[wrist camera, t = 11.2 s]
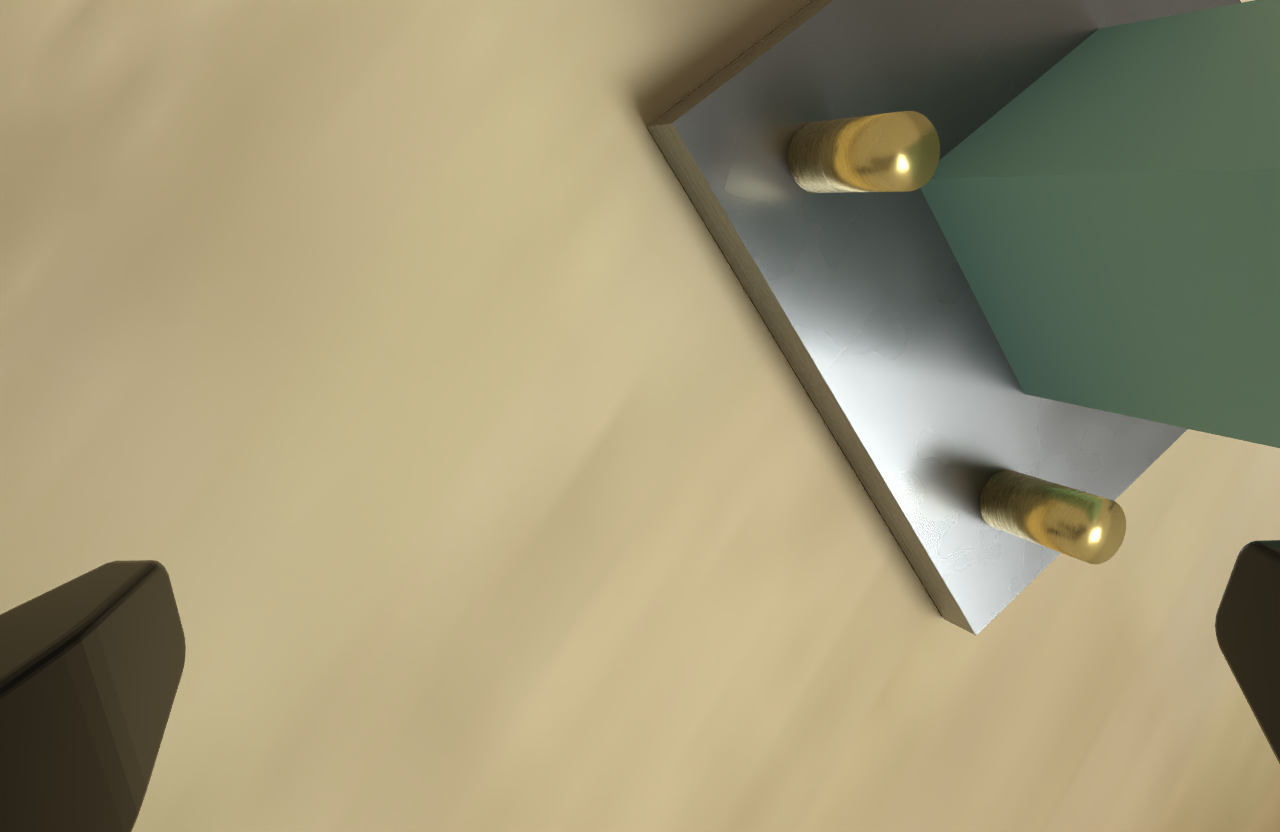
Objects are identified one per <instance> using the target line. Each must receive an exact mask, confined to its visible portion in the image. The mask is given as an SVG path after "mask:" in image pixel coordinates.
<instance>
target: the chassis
mask: <svg viewBox="0 0 1280 832" xmlns="http://www.w3.org/2000/svg"><path fill="white" fill-rule="evenodd" d="M1238 3H1241V1H1240V0H814V1H812V2H811V3H810V4H808V5H807V6H806V7H804V8H803V9H802V10H800V11H799V12H798V13H797V14H795V15H794V16H793V17H791V18H790V19H789V20H787V21H786V22H785V23H783V24H782V25H781V26H779V27H778V28H777V29H775V30H774V31H773V32H771V33H770V34H769V35H767V36H766V37H765V38H764V39H762V40H761V41H760V42H758V43H757V44H756V45H754V46H753V47H752V48H750V49H749V50H748V51H746V52H745V53H744V54H742V55H741V56H740V57H738V58H737V59H736V60H735V61H733V62H732V63H731V64H729V65H728V66H727V67H725V68H724V69H723V70H721V71H720V72H719V73H717V74H716V75H715V76H713V77H712V78H711V79H709V80H708V81H707V82H705V83H704V84H703V85H702V86H700V87H699V88H698V89H696V90H695V91H694V92H692V93H691V94H690V95H688V96H687V97H686V98H684V99H683V100H682V101H680V102H679V103H678V104H676V105H675V106H674V107H672V108H671V109H670V110H669V111H667V112H666V113H665V114H663V115H662V116H661V117H659V118H658V119H657V120H655V121H654V122H653V123H651V124H650V125H649V126H647V128H648V130H649V131H650V133H651V135H652V136H653V138H654V140H655V141H656V143H657V145H658V146H659V148H660V149H661V151H662V153H663V154H664V156H665V158H666V159H667V161H668V163H669V164H670V166H671V168H672V169H673V171H674V173H675V174H676V176H677V178H678V179H679V181H680V183H681V184H682V186H683V188H684V189H685V191H686V193H687V194H688V196H689V197H690V199H691V201H692V202H693V204H694V206H695V207H696V209H697V211H698V212H699V214H700V216H701V217H702V219H703V221H704V222H705V224H706V226H707V227H708V229H709V231H710V232H711V234H712V236H713V237H714V239H715V241H716V242H717V244H718V245H719V247H720V249H721V250H722V252H723V254H724V255H725V257H726V259H727V260H728V262H729V264H730V265H731V267H732V269H733V270H734V272H735V274H736V275H737V277H738V279H739V280H740V282H741V284H742V285H743V287H744V289H745V290H746V292H747V294H748V295H749V297H750V298H751V300H752V302H753V303H754V305H755V307H756V308H757V310H758V312H759V313H760V315H761V317H762V318H763V320H764V322H765V323H766V325H767V327H768V328H769V330H770V332H771V333H772V335H773V337H774V338H775V340H776V342H777V343H778V345H779V346H780V348H781V350H782V351H783V353H784V355H785V356H786V358H787V360H788V361H789V363H790V365H791V366H792V368H793V370H794V371H795V373H796V375H797V376H798V378H799V380H800V381H801V383H802V385H803V386H804V388H805V390H806V391H807V393H808V394H809V396H810V398H811V399H812V401H813V403H814V404H815V406H816V408H817V409H818V411H819V413H820V414H821V416H822V418H823V419H824V421H825V423H826V424H827V426H828V428H829V429H830V431H831V433H832V434H833V436H834V438H835V439H836V441H837V442H838V444H839V446H840V447H841V449H842V451H843V452H844V454H845V456H846V457H847V459H848V461H849V462H850V464H851V466H852V467H853V469H854V471H855V472H856V474H857V476H858V477H859V479H860V481H861V482H862V484H863V486H864V487H865V489H866V490H867V492H868V494H869V495H870V497H871V499H872V500H873V502H874V504H875V505H876V507H877V509H878V510H879V512H880V514H881V515H882V517H883V519H884V520H885V522H886V524H887V525H888V527H889V529H890V530H891V532H892V534H893V535H894V537H895V538H896V540H897V542H898V543H899V545H900V547H901V548H902V550H903V552H904V553H905V555H906V557H907V558H908V560H909V562H910V563H911V565H912V567H913V568H914V570H915V572H916V573H917V575H918V577H919V578H920V580H921V582H922V583H923V585H924V587H925V588H926V590H927V591H928V593H929V595H930V596H931V598H932V600H933V601H934V603H935V605H936V606H937V608H938V610H939V611H940V613H941V615H942V616H943V618H944V619H945V620H947V621H949V622H951V623H953V624H955V625H957V626H959V627H961V628H963V629H965V630H967V631H969V632H971V633H973V634H975V635H977V634H978V633H979V632H980V631H981V630H982V629H983V628H984V627H986V626H987V625H988V624H989V623H990V622H991V621H992V620H993V619H994V618H995V617H996V616H997V615H998V614H999V613H1000V612H1001V611H1002V610H1003V609H1004V608H1005V607H1006V606H1007V605H1008V604H1009V603H1010V602H1011V601H1012V600H1013V599H1014V598H1015V597H1016V596H1017V595H1018V594H1019V593H1020V592H1021V591H1022V590H1023V589H1024V588H1025V587H1026V586H1027V585H1028V584H1030V583H1031V582H1032V581H1033V580H1034V579H1035V578H1036V577H1037V576H1038V575H1039V574H1040V573H1041V572H1042V571H1043V570H1044V569H1045V568H1046V567H1047V566H1048V565H1049V564H1050V563H1051V562H1052V561H1053V560H1054V559H1055V558H1056V557H1057V556H1058V555H1059V554H1060V553H1063V554H1066V555H1069V556H1071V557H1074V558H1077V559H1079V560H1082V561H1085V562H1087V563H1090V564H1100V563H1103V562H1105V561H1107V560H1109V559H1110V558H1111V557H1112V556H1113V555H1114V554H1115V553H1116V552H1117V551H1118V549H1119V547H1120V546H1121V544H1122V542H1123V539H1124V535H1125V530H1126V519H1125V515H1124V512H1123V510H1122V508H1121V507H1120V505H1119V504H1118V503H1116V502H1115V501H1114V500H1115V499H1117V498H1118V497H1119V496H1120V495H1121V494H1122V493H1123V492H1124V491H1125V490H1126V489H1127V488H1128V487H1129V486H1130V485H1131V484H1132V483H1133V482H1134V481H1135V480H1136V479H1137V478H1138V477H1139V476H1140V475H1141V474H1142V473H1143V472H1144V471H1145V470H1146V469H1147V468H1148V467H1149V466H1150V465H1151V464H1152V463H1153V462H1154V461H1155V460H1156V459H1157V458H1158V457H1159V456H1161V455H1162V454H1163V453H1164V452H1165V451H1166V450H1167V449H1168V448H1169V447H1170V446H1171V445H1172V444H1173V443H1174V442H1175V441H1176V440H1177V439H1178V438H1179V437H1180V436H1181V435H1182V434H1183V433H1184V432H1185V431H1186V430H1187V428H1182V427H1178V426H1173V425H1168V424H1164V423H1159V422H1154V421H1149V420H1145V419H1140V418H1135V417H1130V416H1126V415H1121V414H1116V413H1112V412H1107V411H1102V410H1097V409H1093V408H1088V407H1083V406H1078V405H1074V404H1069V403H1064V402H1060V401H1055V400H1050V399H1045V398H1041V397H1036V396H1031V395H1027V394H1024V392H1023V390H1022V388H1021V386H1020V384H1019V382H1018V380H1017V378H1016V376H1015V374H1014V372H1013V370H1012V368H1011V366H1010V364H1009V363H1008V361H1007V359H1006V357H1005V355H1004V353H1003V351H1002V349H1001V347H1000V345H999V343H998V341H997V339H996V337H995V335H994V333H993V331H992V329H991V327H990V325H989V323H988V321H987V319H986V317H985V315H984V313H983V311H982V309H981V307H980V305H979V303H978V301H977V299H976V297H975V295H974V293H973V291H972V289H971V287H970V285H969V283H968V281H967V279H966V277H965V276H964V274H963V272H962V270H961V268H960V266H959V264H958V262H957V260H956V258H955V256H954V254H953V252H952V250H951V248H950V246H949V244H948V242H947V240H946V238H945V236H944V234H943V232H942V230H941V228H940V226H939V224H938V222H937V220H936V218H935V216H934V214H933V212H932V210H931V208H930V206H929V204H928V202H927V200H926V198H925V196H924V194H923V192H922V191H921V189H920V188H921V187H922V186H924V185H925V184H926V183H927V182H928V181H929V180H930V179H931V177H932V176H933V174H934V172H935V170H936V168H937V165H938V162H939V160H940V159H942V158H943V157H944V156H945V155H946V154H948V153H949V152H950V151H951V150H953V149H954V148H955V147H956V146H957V145H959V144H960V143H961V142H962V141H963V140H965V139H966V138H967V137H968V136H969V135H971V134H972V133H973V132H974V131H976V130H977V129H978V128H979V127H980V126H982V125H983V124H984V123H985V122H986V121H988V120H989V119H990V118H991V117H993V116H994V115H995V114H996V113H997V112H999V111H1000V110H1001V109H1002V108H1003V107H1005V106H1006V105H1007V104H1008V103H1009V102H1011V101H1012V100H1013V99H1014V98H1016V97H1017V96H1018V95H1019V94H1020V93H1022V92H1023V91H1024V90H1025V89H1026V88H1028V87H1029V86H1030V85H1031V84H1032V83H1034V82H1035V81H1036V80H1037V79H1039V78H1040V77H1041V76H1042V75H1043V74H1045V73H1046V72H1047V71H1048V70H1049V69H1051V68H1052V67H1053V66H1054V65H1055V64H1057V63H1058V62H1059V61H1060V60H1062V59H1063V58H1064V57H1065V56H1066V55H1068V54H1069V53H1070V52H1071V51H1072V50H1074V49H1075V48H1076V47H1077V46H1079V45H1080V44H1081V43H1082V42H1083V41H1085V40H1086V39H1087V38H1088V37H1089V36H1091V35H1092V34H1093V33H1094V32H1095V31H1097V30H1098V29H1099V28H1105V27H1110V26H1116V25H1121V24H1127V23H1133V22H1138V21H1144V20H1149V19H1155V18H1160V17H1166V16H1171V15H1177V14H1182V13H1188V12H1193V11H1199V10H1205V9H1210V8H1216V7H1221V6H1227V5H1232V4H1238Z"/></svg>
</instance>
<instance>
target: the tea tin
mask: <svg viewBox="0 0 1280 832" xmlns="http://www.w3.org/2000/svg"><path fill="white" fill-rule="evenodd" d="M920 189H921V191H922V192H923V194H924V196H925V198H926V200H927V202H928V204H929V206H930V208H931V210H932V212H933V214H934V216H935V218H936V220H937V222H938V224H939V226H940V228H941V230H942V232H943V234H944V236H945V238H946V240H947V242H948V244H949V246H950V248H951V250H952V252H953V254H954V256H955V258H956V260H957V262H958V264H959V266H960V268H961V270H962V272H963V274H964V276H965V277H966V279H967V281H968V283H969V285H970V287H971V289H972V291H973V293H974V295H975V297H976V299H977V301H978V303H979V305H980V307H981V309H982V311H983V313H984V315H985V317H986V319H987V321H988V323H989V325H990V327H991V329H992V331H993V333H994V335H995V337H996V339H997V341H998V343H999V345H1000V347H1001V349H1002V351H1003V353H1004V355H1005V357H1006V359H1007V361H1008V363H1009V364H1010V366H1011V368H1012V370H1013V372H1014V374H1015V376H1016V378H1017V380H1018V382H1019V384H1020V386H1021V388H1022V390H1023V392H1024V394H1027V395H1031V396H1036V397H1041V398H1045V399H1050V400H1055V401H1060V402H1064V403H1069V404H1074V405H1078V406H1083V407H1088V408H1093V409H1097V410H1102V411H1107V412H1112V413H1116V414H1121V415H1126V416H1130V417H1135V418H1140V419H1145V420H1149V421H1154V422H1159V423H1164V424H1168V425H1173V426H1178V427H1182V428H1187V429H1192V430H1197V431H1201V432H1206V433H1211V434H1216V435H1220V436H1225V437H1230V438H1234V439H1239V440H1244V441H1249V442H1253V443H1258V444H1263V445H1268V446H1272V447H1277V448H1280V0H1254V1H1249V2H1243V3H1238V4H1232V5H1227V6H1221V7H1216V8H1210V9H1205V10H1199V11H1193V12H1188V13H1182V14H1177V15H1171V16H1166V17H1160V18H1155V19H1149V20H1144V21H1138V22H1133V23H1127V24H1121V25H1116V26H1110V27H1105V28H1099V29H1098V30H1097V31H1095V32H1094V33H1093V34H1092V35H1091V36H1089V37H1088V38H1087V39H1086V40H1085V41H1083V42H1082V43H1081V44H1080V45H1079V46H1077V47H1076V48H1075V49H1074V50H1072V51H1071V52H1070V53H1069V54H1068V55H1066V56H1065V57H1064V58H1063V59H1062V60H1060V61H1059V62H1058V63H1057V64H1055V65H1054V66H1053V67H1052V68H1051V69H1049V70H1048V71H1047V72H1046V73H1045V74H1043V75H1042V76H1041V77H1040V78H1039V79H1037V80H1036V81H1035V82H1034V83H1032V84H1031V85H1030V86H1029V87H1028V88H1026V89H1025V90H1024V91H1023V92H1022V93H1020V94H1019V95H1018V96H1017V97H1016V98H1014V99H1013V100H1012V101H1011V102H1009V103H1008V104H1007V105H1006V106H1005V107H1003V108H1002V109H1001V110H1000V111H999V112H997V113H996V114H995V115H994V116H993V117H991V118H990V119H989V120H988V121H986V122H985V123H984V124H983V125H982V126H980V127H979V128H978V129H977V130H976V131H974V132H973V133H972V134H971V135H969V136H968V137H967V138H966V139H965V140H963V141H962V142H961V143H960V144H959V145H957V146H956V147H955V148H954V149H953V150H951V151H950V152H949V153H948V154H946V155H945V156H944V157H943V158H942V159H940V160H939V162H938V165H937V168H936V170H935V172H934V174H933V176H932V177H931V179H930V180H929V181H928V182H927V183H926V184H925V185H924V186H922V187H921V188H920Z"/></svg>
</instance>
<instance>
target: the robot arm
mask: <svg viewBox="0 0 1280 832" xmlns="http://www.w3.org/2000/svg"><path fill="white" fill-rule="evenodd" d="M1215 629H1216V636H1217V640H1218V644H1219V646H1220V649H1221V651H1222V653H1223V655H1224V657H1225V659H1226V661H1227V663H1228V665H1229V667H1230V669H1231V671H1232V672H1233V674H1234V676H1235V678H1236V680H1237V682H1238V684H1239V686H1240V688H1241V690H1242V692H1243V694H1244V696H1245V698H1246V700H1247V702H1248V703H1249V705H1250V707H1251V709H1252V711H1253V713H1254V715H1255V717H1256V719H1257V721H1258V723H1259V725H1260V727H1261V729H1262V731H1263V733H1264V734H1265V736H1266V738H1267V740H1268V742H1269V744H1270V746H1271V748H1272V750H1273V752H1274V754H1275V756H1276V758H1277V760H1278V761H1279V763H1280V540H1273V541H1253V542H1250V543H1249V544H1247V545H1246V546H1244V547H1243V549H1242V550H1241V551H1240V553H1239V555H1238V557H1237V560H1236V562H1235V565H1234V568H1233V570H1232V573H1231V576H1230V578H1229V581H1228V584H1227V586H1226V589H1225V592H1224V594H1223V597H1222V600H1221V602H1220V605H1219V608H1218V610H1217V614H1216V622H1215ZM185 649H186V647H185V637H184V632H183V628H182V624H181V621H180V617H179V613H178V609H177V605H176V601H175V598H174V594H173V590H172V586H171V582H170V578H169V575H168V573H167V571H166V569H165V567H164V566H163V565H162V564H161V563H159V562H158V561H153V560H144V561H114V562H110V563H106V564H104V565H102V566H100V567H98V568H96V569H94V570H92V571H90V572H88V573H86V574H83V575H81V576H79V577H77V578H75V579H73V580H71V581H69V582H67V583H65V584H63V585H61V586H59V587H57V588H55V589H52V590H50V591H48V592H46V593H44V594H42V595H40V596H38V597H36V598H34V599H32V600H30V601H28V602H26V603H24V604H21V605H19V606H17V607H15V608H13V609H11V610H9V611H7V612H5V613H3V614H1V615H0V832H131V831H132V829H133V827H134V824H135V822H136V819H137V817H138V814H139V811H140V808H141V805H142V802H143V800H144V797H145V794H146V791H147V787H148V784H149V781H150V777H151V774H152V771H153V768H154V764H155V761H156V758H157V754H158V751H159V748H160V745H161V741H162V738H163V735H164V731H165V728H166V725H167V721H168V718H169V715H170V712H171V708H172V705H173V702H174V698H175V695H176V692H177V689H178V685H179V682H180V679H181V675H182V672H183V668H184V662H185Z"/></svg>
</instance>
